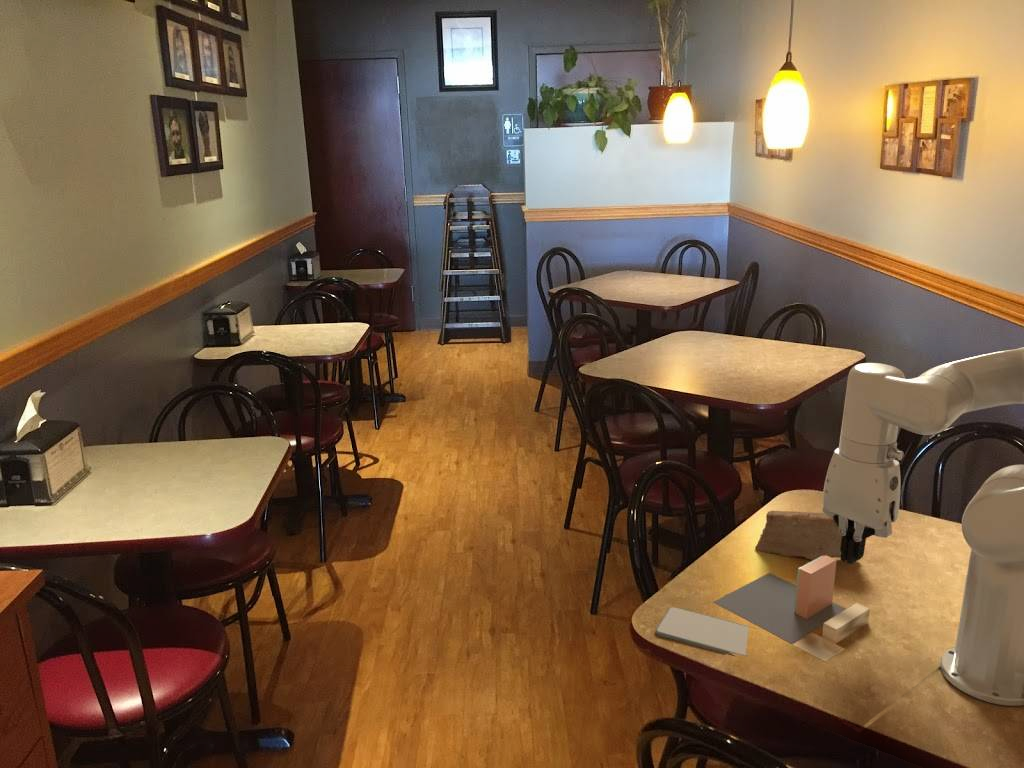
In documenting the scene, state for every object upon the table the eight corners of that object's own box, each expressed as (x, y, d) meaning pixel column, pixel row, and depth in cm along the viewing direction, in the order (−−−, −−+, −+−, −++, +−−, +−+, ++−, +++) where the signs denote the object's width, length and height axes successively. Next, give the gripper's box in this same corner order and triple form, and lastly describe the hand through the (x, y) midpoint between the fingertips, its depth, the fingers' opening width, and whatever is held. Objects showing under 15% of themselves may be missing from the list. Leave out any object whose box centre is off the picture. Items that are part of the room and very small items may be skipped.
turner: (845, 615, 134) (847, 598, 134) (877, 630, 130) (879, 613, 129) (792, 647, 126) (794, 630, 126) (825, 664, 122) (827, 646, 121)
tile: (832, 603, 137) (836, 559, 134) (806, 618, 133) (810, 573, 130) (818, 597, 139) (823, 554, 136) (793, 612, 135) (797, 567, 132)
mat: (847, 611, 135) (847, 609, 135) (791, 645, 127) (791, 643, 126) (769, 574, 147) (769, 572, 147) (712, 603, 138) (713, 601, 138)
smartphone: (752, 658, 123) (653, 631, 130) (751, 664, 123) (653, 636, 130) (763, 629, 130) (670, 604, 137) (763, 634, 131) (669, 610, 137)
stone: (755, 547, 157) (755, 559, 153) (755, 504, 153) (754, 516, 149) (863, 554, 151) (864, 567, 148) (865, 510, 147) (867, 522, 144)
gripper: (930, 457, 119) (910, 572, 125) (835, 427, 130) (821, 533, 136) (902, 470, 115) (883, 588, 120) (806, 438, 126) (793, 547, 132)
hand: (850, 559), depth 128 cm, fingers closed
